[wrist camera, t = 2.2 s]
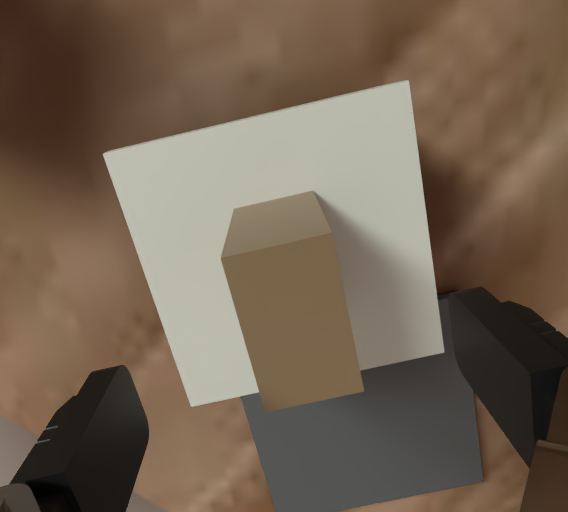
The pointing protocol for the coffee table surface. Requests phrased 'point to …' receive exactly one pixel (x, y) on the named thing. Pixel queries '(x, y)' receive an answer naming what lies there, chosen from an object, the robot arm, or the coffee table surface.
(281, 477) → the rubber mat
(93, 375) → the robot arm
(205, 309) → the lid
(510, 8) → the coffee table surface
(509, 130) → the coffee table surface
